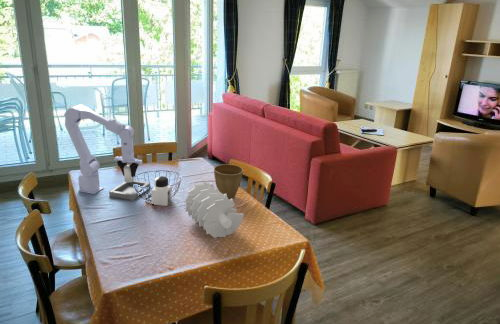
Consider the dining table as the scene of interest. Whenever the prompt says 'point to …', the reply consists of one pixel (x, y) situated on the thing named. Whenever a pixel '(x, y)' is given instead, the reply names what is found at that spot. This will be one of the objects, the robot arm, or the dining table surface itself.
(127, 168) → the shaker
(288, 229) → the dining table surface
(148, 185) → the tray
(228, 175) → the plant pot
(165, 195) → the container
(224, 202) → the spiral staircase
